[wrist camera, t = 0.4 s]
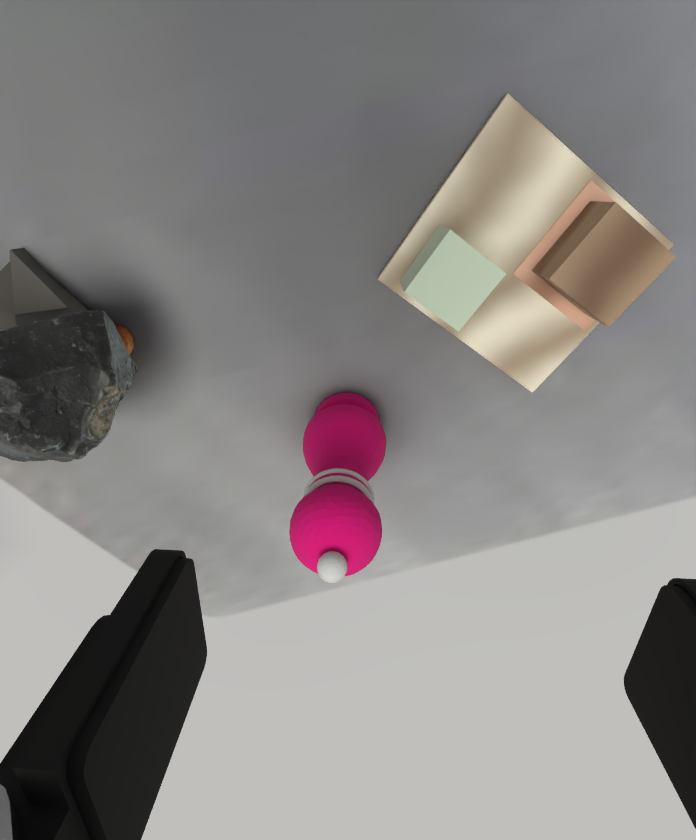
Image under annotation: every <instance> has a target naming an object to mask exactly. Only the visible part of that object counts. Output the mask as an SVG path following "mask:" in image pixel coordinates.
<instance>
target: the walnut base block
mask: <svg viewBox="0 0 696 840" xmlns="http://www.w3.org/2000/svg"><path fill="white" fill-rule="evenodd" d="M675 258H676V256H675V255H674V254H673V253H672V252H671V251H669V250H668V249H667V248H666V247H665V246H664V245H663V244H662V243H661V242H660V241H658V240H657V239H656V238H655V237H654V236H653V235H652V234H651V233H650V232H648V231H647V230H646V229H645V228H644V227H643V226H642V225H641V224H640V223H639V222H637V221H636V220H635V219H634V218H633V217H632V216H631V215H630V214H629V213H627V212H626V211H625V210H624V209H623V208H622V207H621V206H620V205H619V204H618V203H616V202H599V201H590V202H589V203H588V204H587V205H586V207H585V208H584V209H583V210H582V211H581V213H580V214H579V215H578V216H577V217H576V218H575V220H574V221H573V222H572V223H571V224H570V226H569V227H568V228H567V229H566V230H565V231H564V233H563V234H562V235H561V236H560V237H559V239H558V240H557V241H556V242H555V243H554V244H553V246H552V247H551V248H550V249H549V250H548V252H547V253H546V254H545V255H544V256H543V257H542V259H541V260H540V261H539V262H538V263H537V265H536V266H535V267H534V268H533V269H532V271H533V272H534V273H535V274H537V275H538V276H539V277H540V278H541V279H543V280H544V281H545V282H546V283H548V284H549V285H550V286H551V287H553V288H554V289H555V290H556V291H557V292H559V293H560V294H561V295H562V296H564V297H565V298H566V299H567V300H569V301H570V302H571V303H572V304H574V305H575V306H576V307H577V308H578V309H580V310H581V311H582V312H583V313H585V314H586V315H588V316H590V317H591V318H593V319H595V320H597V321H598V322H600V323H602V324H604V325H605V326H607V327H609V326H610V325H611V324H612V323H613V322H614V321H615V320H616V318H617V317H618V316H619V315H620V314H621V313H622V312H623V311H624V310H625V309H626V308H627V307H628V306H629V305H630V304H631V303H632V302H633V301H634V300H635V299H636V298H637V297H638V296H639V295H640V294H641V293H642V292H643V291H644V290H645V289H646V288H647V287H648V286H649V285H650V284H651V283H652V282H653V281H654V280H655V278H656V277H657V276H658V275H659V274H660V273H661V272H662V271H663V270H664V269H665V268H666V267H667V266H668V265H669V264H670V263H671V262H672V261H673V260H674V259H675Z"/></svg>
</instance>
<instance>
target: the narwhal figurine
mask: <svg viewBox="0 0 696 840" xmlns="http://www.w3.org/2000/svg"><path fill="white" fill-rule="evenodd" d="M10 260H11V261H10V262H9V263H8V264H7V265H6V266H5V267H4V268H3V269H2V270H1V271H0V330H3V331H0V456H3V457H6V458H8V459H11V460H16V461H23V462H25V461H46V460H55V461H60V462H68V461H72V460H73V459H82V458H83V457H84V456H86V454H87V453H88V452H89V451H90V450H91V449H92V448H95V447H97V446H98V445H99V444H100V443H101V442H102V441H103V440H104V438H105V437H106V436H107V435H108V433H109V431H110V428H111V424H112V420H113V418H114V415H115V410H116V408H117V407H118V404H119V402H120V401H121V400H122V399H123V397H124V396H125V393H126V390H127V389H128V388H129V387H130V386H131V385H132V380H133V376H134V374H135V373H136V371H137V365H136V364H135V363H134V362H133V360H132V359H131V357H130V354H131V352H132V351H133V349H134V341H133V337H132V334H131V333H130V331H129V330H128V329H127V327H123V326H122V325H115V324H114V323H113V321H112V320H111V319H110V318H109V317H108V316H107V315H106V313H105V312H104V311H102V310H99V309H97V310H91V311H89V310H88V309H87V308H85V307H84V306H83V305H82V304H81V303H80V302H79V301H78V300H76V299H75V298H74V297H73V296H72V295H71V294H70V293H69V292H67V291H66V290H65V289H64V288H63V287H62V286H61V285H59V284H58V283H57V282H56V281H55V280H54V279H53V278H52V277H50V275H49V274H48V273H47V272H46V271H45V270H44V269H43V268H42V267H41V266H40V265H39V264H38V263H37V262H36V261H35V260H34V258H33V257H32V256H31V255H30V254H29V253H28V252H27V251H26V250H25V249H24V248H20V249H12V250H10Z"/></svg>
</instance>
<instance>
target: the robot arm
mask: <svg viewBox="0 0 696 840" xmlns="http://www.w3.org/2000/svg"><path fill="white" fill-rule="evenodd" d="M206 657H207V646H206V640H205V633H204V627H203V620H202V613H201V607H200V600H199V594H198V587H197V580H196V574H195V567H194V562H193V560H192V559H189V558H186V556H185V553H184V552H183V551H178V550H160V549H155V550H153V551H152V552H151V553H150V554H149V556H148V557H147V559H146V560H145V562H144V563H143V565H142V566H141V568H140V569H139V571H138V573H137V574H136V576H135V577H134V579H133V580H132V582H131V583H130V585H129V587H128V588H127V590H126V591H125V593H124V594H123V596H122V597H121V599H120V600H119V602H118V604H117V605H116V607H115V608H114V610H113V611H112V613H111V615H107V616H103V617H101V618H100V619H99V620H97V622H96V623H95V624H94V625H93V626H92V628H91V629H90V631H89V632H88V634H87V635H86V637H85V638H84V640H83V641H82V643H81V644H80V646H79V647H78V649H77V650H76V652H75V653H74V655H73V656H72V658H71V659H70V661H69V662H68V663H67V665H66V666H65V668H64V669H63V671H62V672H61V674H60V675H59V677H58V678H57V680H56V681H55V683H54V684H53V686H52V687H51V689H50V691H49V692H48V693H47V695H46V696H45V698H44V699H43V701H42V702H41V704H40V705H39V707H38V708H37V710H36V711H35V713H34V714H33V716H32V717H31V719H30V720H29V722H28V723H27V725H26V726H25V728H24V729H23V731H22V732H21V734H20V735H19V737H18V738H17V740H16V741H15V743H14V744H13V746H12V747H11V749H10V750H9V751H8V753H7V754H6V756H5V758H4V759H3V760H2V762H1V763H0V840H141V838H142V835H143V832H144V830H145V827H146V824H147V822H148V819H149V816H150V813H151V811H152V808H153V805H154V803H155V800H156V797H157V794H158V792H159V789H160V786H161V783H162V781H163V778H164V775H165V773H166V770H167V767H168V765H169V762H170V759H171V756H172V754H173V751H174V748H175V745H176V743H177V740H178V737H179V735H180V732H181V729H182V727H183V724H184V721H185V718H186V716H187V713H188V710H189V707H190V705H191V702H192V699H193V697H194V694H195V691H196V689H197V686H198V683H199V680H200V678H201V675H202V672H203V670H204V666H205V662H206ZM624 686H625V690H626V694H627V696H628V698H629V700H630V702H631V704H632V706H633V708H634V710H635V712H636V714H637V716H638V718H639V719H640V722H641V723H642V725H643V727H644V729H645V731H646V733H647V735H648V737H649V739H650V741H651V743H652V745H653V747H654V749H655V751H656V753H657V755H658V756H659V758H660V760H661V762H662V764H663V766H664V768H665V770H666V772H667V774H668V776H669V778H670V780H671V782H672V783H673V786H674V788H675V789H676V792H677V793H678V795H679V797H680V799H681V801H682V803H683V805H684V807H685V809H686V811H687V813H688V815H689V817H690V819H691V821H692V823H693V825H694V827H695V828H696V579H680V578H674V579H672V580H670V581H669V583H668V585H666V586H663V587H662V588H661V589H660V591H659V593H658V596H657V598H656V600H655V603H654V605H653V608H652V610H651V613H650V615H649V617H648V620H647V622H646V625H645V627H644V629H643V632H642V634H641V637H640V639H639V641H638V644H637V646H636V649H635V651H634V654H633V656H632V659H631V661H630V663H629V666H628V668H627V670H626V673H625V676H624Z"/></svg>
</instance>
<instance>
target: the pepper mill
mask: <svg viewBox="0 0 696 840" xmlns="http://www.w3.org/2000/svg"><path fill="white" fill-rule="evenodd" d="M385 448H386V438H385V433H384V430H383V428H382V425H381V424H380V422H379V415H378V412H377V410H376V408H375V407H374V406H373V404H372V403H371V402H370V401H369V400H367V399H366V398H364V397H363V396H360V395H358V394H355V393H347V392H345V393H337V394H334V395H332V396H329V397H328V398H326V399H325V400H324V401H323V402H322V403H321V404H320V405H319V407H318V408H317V410H316V413H315V416H314V417H313V418H312V419H311V421H310V422H309V424H308V425H307V427H306V430H305V433H304V440H303V452H304V457H305V460H306V463H307V466H308V468H309V469H310V471H311V473H312V474H313V476H314V477H313V478H312V479H311V480H310V482H309V483H308V484H307V486H306V489H305V493H304V497H303V499H302V500H301V501H300V502H299V503H298V505H297V506H296V508H295V509H294V512H293V515H292V518H291V521H290V531H289V532H290V541H291V545H292V548H293V551H294V553H295V554H296V556H297V558H298V559H299V560H300V561H301V562H302V564H303V565H305V566H306V567H307V568H309V569H310V570H312V571H314V572H315V573H317V574H319V576H320V577H321V579H323V580H324V581H326V582H329V583H335V582H338V581H340V580H341V579H342V578H343V577H344V576H348V575H352V574H355V573H356V572H358V571H360V570H362V569H363V568H365V567H366V566H367V565H368V564H369V563H370V562H371V561H372V559H373V558H374V556H375V555H376V553H377V551H378V548H379V546H380V542H381V537H382V525H381V519H380V515H379V512H378V510H377V509H376V507H375V505H374V494H373V490H372V488H371V486H370V484H369V483H368V481H369V480H370V479H371V478H372V477H373V476H374V475H375V473H376V472H377V470H378V469H379V467H380V465H381V463H382V461H383V458H384V455H385Z"/></svg>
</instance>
